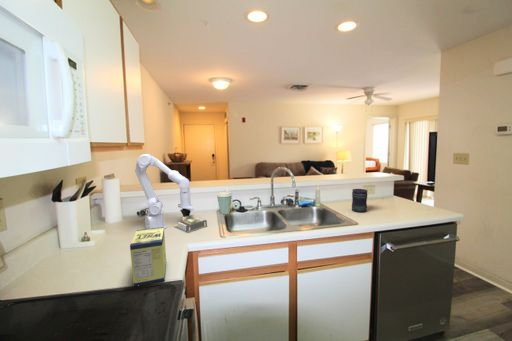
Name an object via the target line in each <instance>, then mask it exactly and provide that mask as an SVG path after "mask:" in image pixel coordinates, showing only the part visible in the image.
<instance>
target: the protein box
mask: <svg viewBox="0 0 512 341" xmlns="http://www.w3.org/2000/svg"><path fill="white" fill-rule="evenodd" d="M165 238H166V237H165V228H164V227H160V228H152V229H145V228H144V229H138V230H136V232H135V234H134V237H133V238H132V240H131V242H130V245H129V249H130V250H129V251H130V261H131V271H132V272H131V273H132V274H131V275H132V281H133V283H132V284H133V287H134V286H137V287H139V286H138V285H142V286H146V285H145V284H147V285H152V284H151V283H153V284H157V283H163V282H165V280H166V271H167V250H166V239H165Z"/></svg>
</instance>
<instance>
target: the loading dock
mask: <svg viewBox="0 0 512 341" xmlns="http://www.w3.org/2000/svg"><path fill="white" fill-rule="evenodd" d="M207 224H208V221H207V219H203V220H201V219H200V222H197V223H193V224H190V225H185V224H183V222H178V221H177V224H175V225H172V227H173V228H176V229H178V230H180V231H182V232H184V233H186V234H190V233H192V232H196V231H199V230H201V229H203V228H204V229H205V228H207V227H208V225H207Z"/></svg>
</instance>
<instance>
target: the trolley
mask: <svg viewBox="0 0 512 341" xmlns="http://www.w3.org/2000/svg"><path fill="white" fill-rule="evenodd" d="M200 220H201V219H200V218H198V217H194V214H190V215H189V216H186V217H182V223H183V224H185V225H190V224H193V223H197V222H200Z"/></svg>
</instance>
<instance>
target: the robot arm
mask: <svg viewBox="0 0 512 341" xmlns="http://www.w3.org/2000/svg"><path fill="white" fill-rule="evenodd" d="M149 166H150V167H156V168H158V169H159V170H161V171H162V172H163V173H165V174H166V175H167V178H168V179H169V180H170V181H172V182H173V183H175V185H178V187H179V197H180V198H179V200H180V203H178V204H177V207H178V208H180V211H179V212H180V213H181V214H182V216H183V217H186V216H190V215H191V212H194V211H195V208H194V207H193V204H191V190H190V188H191V187H190V180H189V179H188V178H187V177H185V176H183V175H182V174H180V172H179V171H178V170H175V169H174V170H172V169H170V168H169V167H168V166H167V165H166V164H164V163H163V162H162V161H160V160H159V159H158V158H157V157H155V156H153V155H152V154H150V153H145V154H144V153H143V154H141V155H139V157H138V158H137V159H136V165H135V169H134V172H135V174H136V176H137V177H136V178H137V179H138V182H139V185H141V188H142V190H143V192H144V195H145V197H146V200H147V206H148V212H149V215H145V218H144V220H145V222H144V223H145V228H144V229H152V228H160V227H164V229H167V228H168V227H167V226H166V225H165V222H164V221H165V220H164V211H163V210H162V209H163V206H164V205H163V203H162V201H161V200H160V199H159V198H158V197H157V195H156V193H155V190H154V188H153V186H152V183H151V181H150V178H149V176H148V173H147V169H148V168H149Z"/></svg>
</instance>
